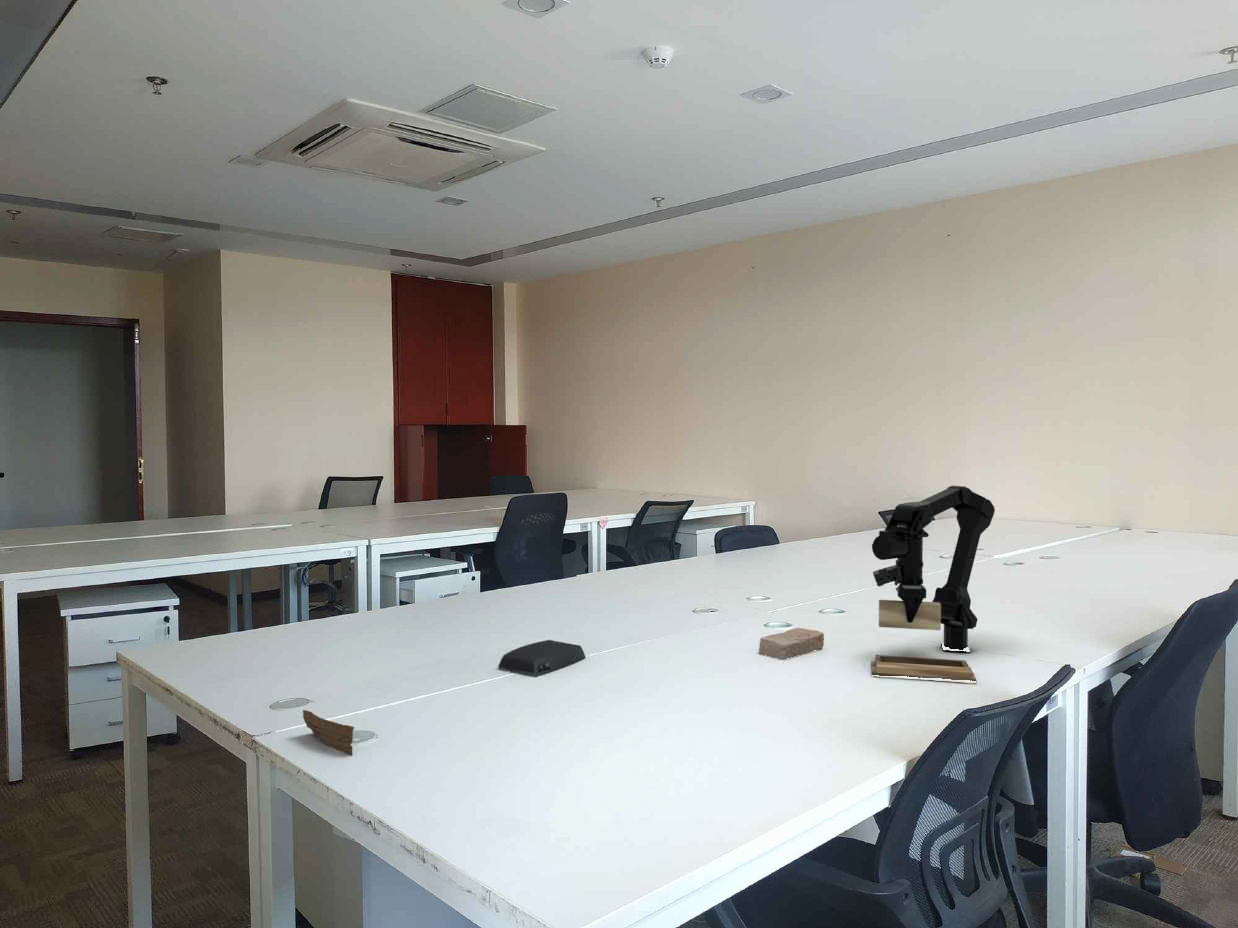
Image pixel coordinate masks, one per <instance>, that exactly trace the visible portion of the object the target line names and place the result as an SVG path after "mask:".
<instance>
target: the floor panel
mask: <svg viewBox="0 0 1238 928" xmlns="http://www.w3.org/2000/svg"><path fill="white" fill-rule="evenodd" d="M874 656H875V660H871V661H870V670H872V671H871V676H872V675H879V676H907V677H908V676H909V677H918V678H921V677H922V678H942V679H951V680H970V681H971V680H972V681H976V682H977V678H976V676H975V674H974V672H973V670H972V667H970V666H969V664H968V662H967V661H966V660H965V659H964V660H963V659H962V660H961V659H950V658H949V659H948V658H947V659H945V658H930V657H929V658H928V657H917V656H900V655H886V654H885V655H882V654H875V655H874Z"/></svg>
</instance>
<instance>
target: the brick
mask: <svg viewBox="0 0 1238 928" xmlns="http://www.w3.org/2000/svg"><path fill="white" fill-rule="evenodd" d="M824 636H825V632H824V633H823V631H819V630H814V629H810V628H808V629H807V628H803V627H802V628H801V627H795V628H791V629H788V630H786V631H784V632H779V633H773V634H769V635H766V636H764V637H763V636H762V637H760V639H759V640H760V641H759V645H758V646H759V648H758V653H759V654H760V655H761V656H765V655H767V657H769V656H770V658H772V657H774V658H773V659H775V658H778V659H777V660H779V659H780V661H785V660H788V659H787V658H789V659H792V658H795V657H794V656H796V657H798V656H797V655H800V656H802V655H801V654H804V655H806V654H805V653H807V654H809V653H808V652H811V653H813V652H812V651H814V650H817V651H819V650H822V649H823V647H824V642H825V638H824ZM818 649H819V650H818ZM814 652H815V651H814ZM791 657H792V658H791ZM784 659H785V660H784Z"/></svg>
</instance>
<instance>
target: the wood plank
mask: <svg viewBox="0 0 1238 928" xmlns="http://www.w3.org/2000/svg"><path fill="white" fill-rule="evenodd" d="M302 717H303V718H302V719H304V723H305V726H306V728H308V729H310V730H311V732H312V734H313V735H314V737H315V738H316V739H318V740H319V741H320V742H321V743H323V744H325V746H327V747H330V748H332V749H336V750H338V751H339V752H342V753H345V754H347V755H349V756H353V745H352V743H353V740H354V738H353V737H354V736H353V735H354V729H355V727H354V726H351V725H347V724H342V723H341V724H340V723H338V722H334V721H331V720H328V719H325V718H322V717H319V716H318V715H316V714H314V713H313V712H312V711H309V710H306V709H303V710H302Z"/></svg>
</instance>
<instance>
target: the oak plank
mask: <svg viewBox="0 0 1238 928" xmlns="http://www.w3.org/2000/svg"><path fill="white" fill-rule="evenodd" d="M941 626H942V625H941V605H940V603H939V602H932V601H922V603H921V605H920V607H919V609H918V611H917V613H916V615H915V617H914V620H913V622H912V623H909V622H907V617H906V611H905V606H904V601H903V600H893V599H879V600H878V627H879V628H889V629H890V628H891V629H906V630H907V629H909V630H927V631H941Z"/></svg>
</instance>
